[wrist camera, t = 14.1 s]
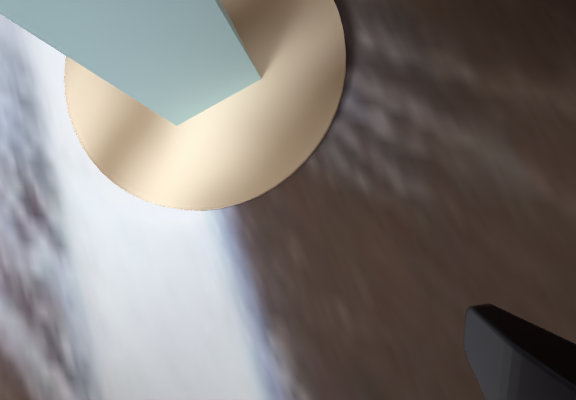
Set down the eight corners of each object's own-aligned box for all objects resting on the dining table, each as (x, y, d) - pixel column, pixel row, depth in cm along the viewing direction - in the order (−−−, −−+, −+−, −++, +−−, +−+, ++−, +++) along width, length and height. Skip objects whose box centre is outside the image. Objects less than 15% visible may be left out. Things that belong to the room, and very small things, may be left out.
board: (406, 21, 21) (407, 14, 20) (232, 269, 21) (228, 270, 20) (175, -113, 23) (170, -122, 22) (22, 109, 23) (13, 106, 23)
